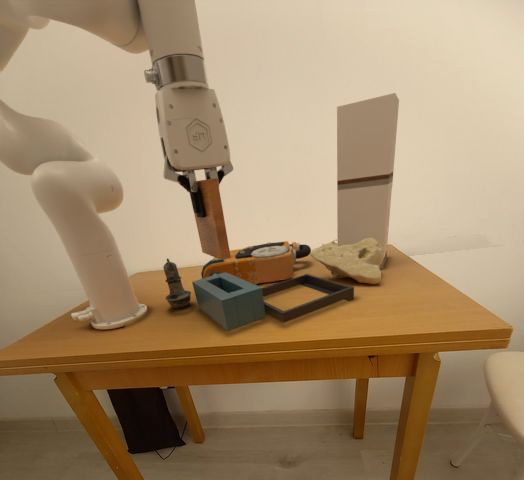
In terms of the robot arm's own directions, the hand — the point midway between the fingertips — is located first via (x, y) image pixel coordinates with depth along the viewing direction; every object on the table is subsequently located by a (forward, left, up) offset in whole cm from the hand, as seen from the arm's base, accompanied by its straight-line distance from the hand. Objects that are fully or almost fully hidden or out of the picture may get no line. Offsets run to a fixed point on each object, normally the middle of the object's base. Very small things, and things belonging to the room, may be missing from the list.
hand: (208, 215), depth 53 cm
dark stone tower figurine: (-7, +12, -20) cm, 24 cm away
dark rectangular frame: (+14, -5, -20) cm, 25 cm away
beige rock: (+30, -3, -20) cm, 36 cm away
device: (+19, +19, -20) cm, 33 cm away
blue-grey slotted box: (0, 0, -20) cm, 20 cm away
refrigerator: (+43, +4, -20) cm, 48 cm away
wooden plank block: (0, 0, -7) cm, 7 cm away
